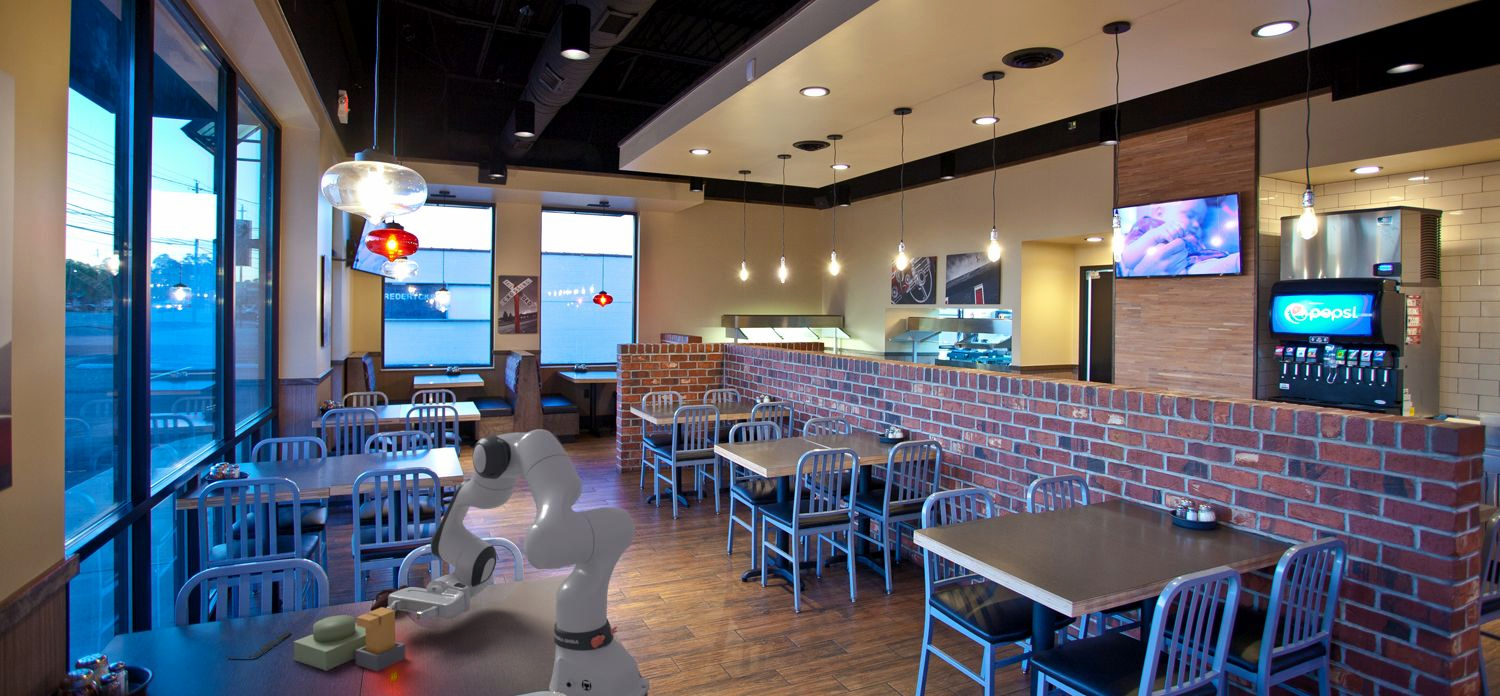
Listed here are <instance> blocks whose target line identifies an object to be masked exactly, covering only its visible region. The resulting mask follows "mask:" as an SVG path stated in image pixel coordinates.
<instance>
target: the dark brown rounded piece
mask: <svg viewBox="0 0 1500 696" xmlns="http://www.w3.org/2000/svg"><path fill="white" fill-rule="evenodd" d="M407 587H409V586H408V585H407V584H403V585H400V586H398V589H396V588H388V589H383V590H381V591H380V592H378V593H377V594H376V595H375V602H374V604H373V605H372V606H371V607H370V612H371V611H373V610H376V609H378V608H381V607H383V608H387V607H388V597H389V595H390V594H391V593H393V592H396V591H399V590H401V589H404V588H407Z"/></svg>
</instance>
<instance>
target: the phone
mask: <svg viewBox="0 0 1500 696" xmlns="http://www.w3.org/2000/svg"><path fill="white" fill-rule="evenodd" d="M285 632H286V633H287V634H286V633H285V634H283V635H281V636H280V637H278V638H279V639H277V640H278V641H277V640H276V641H277V642H275V641H272V642H269V643H268V644H266V645H264V646H263V647H265V646H266V647H265V648H263V647H262V648H263V649H261V648H260V649H261V650H260V651H261V652H260V653H257V652H255V653H257V654H258V655H257V654H254V657H257V656H259V655H260V654H262V653H264V652H265V651H267V650H268V649H270V648H271V647H272V646H274V645H275V644H276V643H278V642H280V641H281V640H283V639H284V638H286V637H287V636H289V635H290V634H291V635H292V631H285ZM291 635H290V636H291ZM290 636H289V637H290ZM287 638H288V637H287ZM287 638H286V639H287ZM284 640H285V639H284ZM284 640H283V641H284ZM273 642H275V643H273ZM271 643H272V644H271ZM280 643H281V642H280ZM258 652H259V651H258ZM250 654H251V653H250ZM245 656H247V655H245ZM228 657H229V655H227V658H228ZM230 657H233V656H230ZM235 657H236V656H235ZM239 657H240V656H239ZM251 657H253V656H250V655H249V658H251Z"/></svg>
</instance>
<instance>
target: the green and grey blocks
mask: <svg viewBox="0 0 1500 696" xmlns="http://www.w3.org/2000/svg"><path fill="white" fill-rule="evenodd" d="M312 632H313V634H310V635H309V634H308V635H307V636H305V637H302V638H299V639H296V640H294V641H293V660H294V661H296V662H299V663H302V664H306V665H307V666H311V667H314V668H317V669H320V670H323V671H326V672H327V671H329V670H332V669H334V668H336V667H338V666H341V665H343V664H345V663H348V662H349V661H352V660H355V665H357V666H359V667H362V668H366V669H368V670H371V671H374V672H380V671H381V670H383V669H386V668H388V667H390V666H392V665H394V664H396V663H399V662H401V661H404V660H405V659H406V644H405V643H403V642H400V641H396V640H395V647H394V648H392V649H389V650H387V651H385V652H383V653H380V654H378V655H377V654H374V653H371V652H368V651H366V630H365V628H364V627H360V626H357V622H356V618H355V616H352V615H347V614H343V615H341V614H340V615H333V616H332V615H331V616H328V617H324V618H322V619H320V620H317V621H316V622H314V624H313V625H312Z"/></svg>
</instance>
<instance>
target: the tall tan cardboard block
mask: <svg viewBox="0 0 1500 696" xmlns="http://www.w3.org/2000/svg"><path fill="white" fill-rule="evenodd" d="M356 623H357V626H360V627H364V628H365V630H366V651H368V652H371V653H374V654H377V655H378V654H380V653H383V652H385V651H387V650H389V649H392V648H394V647H395V641H396V613H395V610H391V609H387V608H383V607H381V608H378V609H376V610H373V611H371V610H370V611H368V612H367V613H364V614H361V615H359V616H357V617H356Z"/></svg>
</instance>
